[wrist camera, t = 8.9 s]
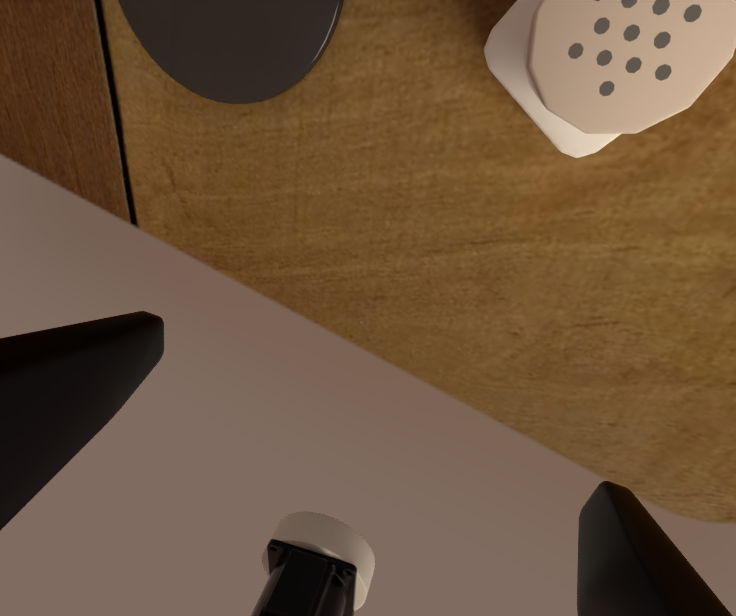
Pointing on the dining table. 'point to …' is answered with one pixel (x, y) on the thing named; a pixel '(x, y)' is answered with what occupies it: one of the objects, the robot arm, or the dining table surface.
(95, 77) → the dining table surface
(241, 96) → the coaster
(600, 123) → the salt shaker
